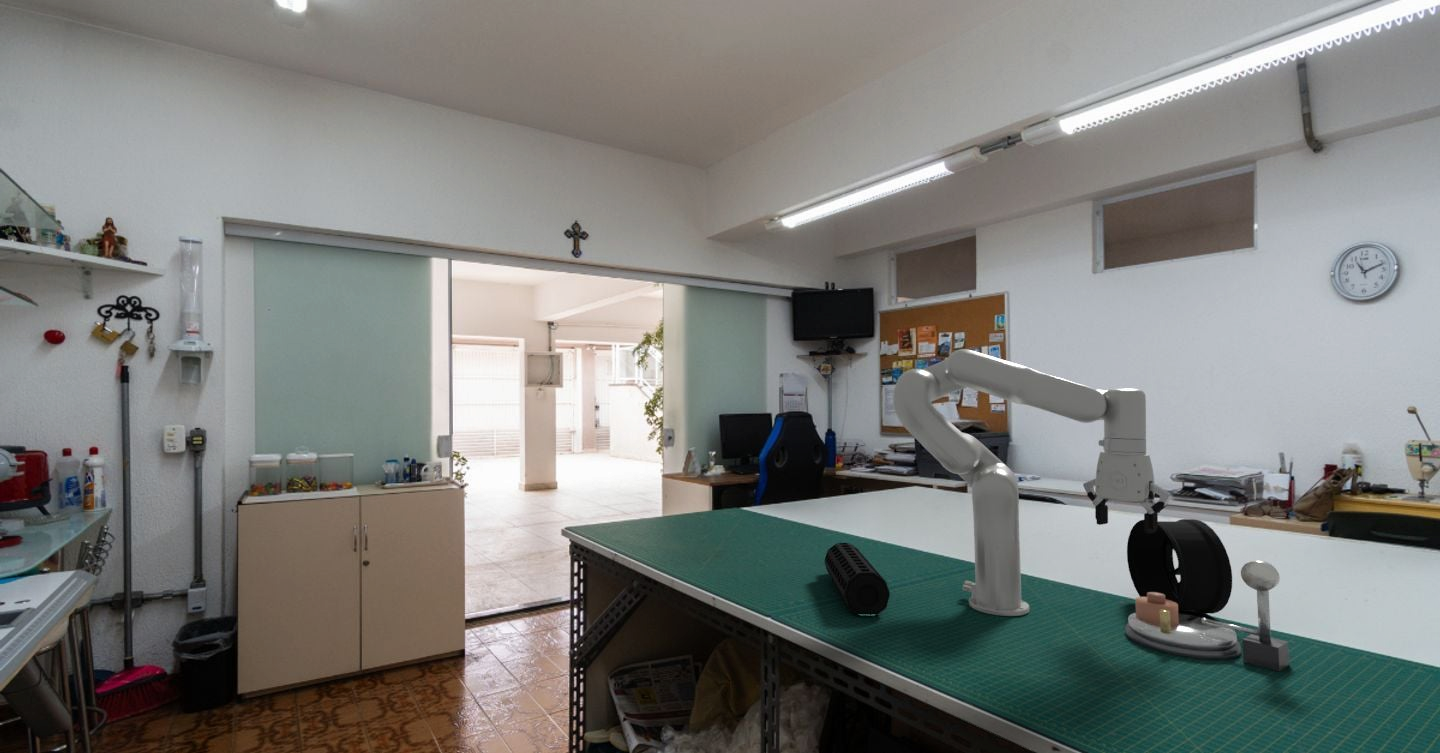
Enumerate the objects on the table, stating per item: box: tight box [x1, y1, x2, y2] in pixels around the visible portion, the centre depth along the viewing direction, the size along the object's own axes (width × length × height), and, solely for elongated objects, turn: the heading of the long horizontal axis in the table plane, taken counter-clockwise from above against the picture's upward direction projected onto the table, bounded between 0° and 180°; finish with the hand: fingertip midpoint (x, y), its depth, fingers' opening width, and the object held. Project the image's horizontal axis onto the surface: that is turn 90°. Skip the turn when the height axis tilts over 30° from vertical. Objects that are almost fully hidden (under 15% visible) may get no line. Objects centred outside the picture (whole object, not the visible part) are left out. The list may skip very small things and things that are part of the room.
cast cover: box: [1134, 592, 1179, 626], centre depth 127 cm, size 7×7×5 cm
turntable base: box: [1125, 622, 1242, 661], centre depth 123 cm, size 18×18×1 cm
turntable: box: [1127, 609, 1238, 650], centre depth 123 cm, size 17×17×6 cm
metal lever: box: [1201, 559, 1290, 673], centre depth 116 cm, size 12×5×18 cm, turn 34°
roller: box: [824, 542, 891, 615], centre depth 158 cm, size 38×10×10 cm, turn 179°
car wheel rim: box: [1126, 518, 1233, 614], centre depth 141 cm, size 20×10×20 cm, turn 175°
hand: (1125, 528), depth 134 cm, fingers open, 9 cm apart
